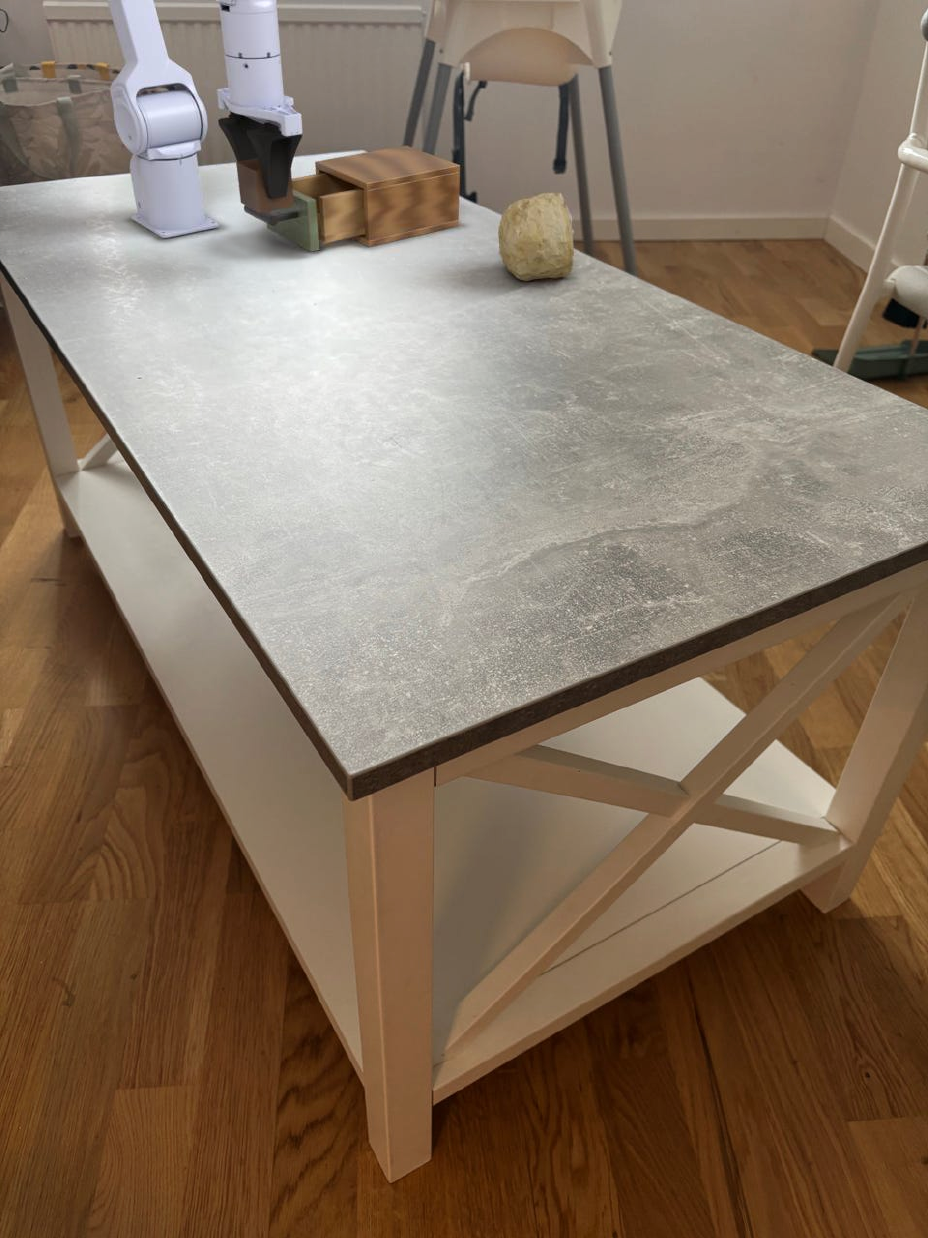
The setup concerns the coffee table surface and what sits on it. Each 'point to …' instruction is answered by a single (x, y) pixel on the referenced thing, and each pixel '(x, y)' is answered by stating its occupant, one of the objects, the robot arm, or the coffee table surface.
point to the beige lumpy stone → (537, 237)
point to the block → (259, 188)
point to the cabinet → (400, 192)
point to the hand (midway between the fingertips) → (266, 191)
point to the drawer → (318, 211)
